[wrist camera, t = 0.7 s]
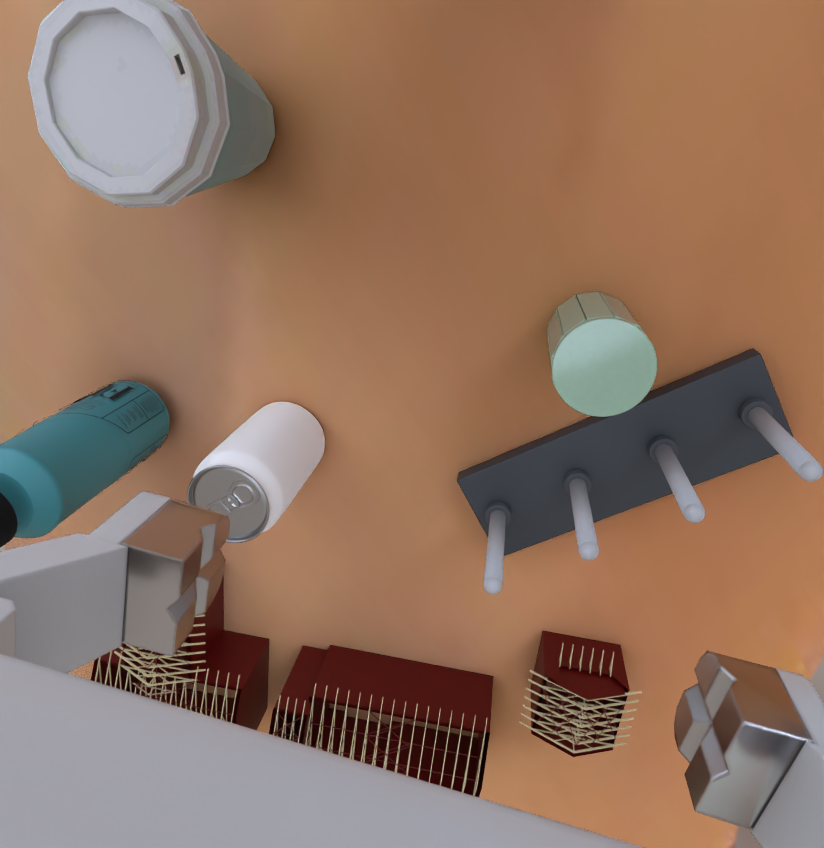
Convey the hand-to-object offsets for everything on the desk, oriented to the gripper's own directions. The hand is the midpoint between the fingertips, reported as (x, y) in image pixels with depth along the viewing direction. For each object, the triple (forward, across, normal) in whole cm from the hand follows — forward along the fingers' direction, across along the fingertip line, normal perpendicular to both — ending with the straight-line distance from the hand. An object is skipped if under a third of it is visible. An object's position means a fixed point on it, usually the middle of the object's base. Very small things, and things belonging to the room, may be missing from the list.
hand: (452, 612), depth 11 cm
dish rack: (+39, -12, +11) cm, 42 cm away
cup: (+39, -7, +2) cm, 39 cm away
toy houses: (+39, +3, +37) cm, 54 cm away
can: (+39, +14, +16) cm, 45 cm away
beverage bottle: (+39, +26, +18) cm, 50 cm away
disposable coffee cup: (+39, +21, -6) cm, 45 cm away
